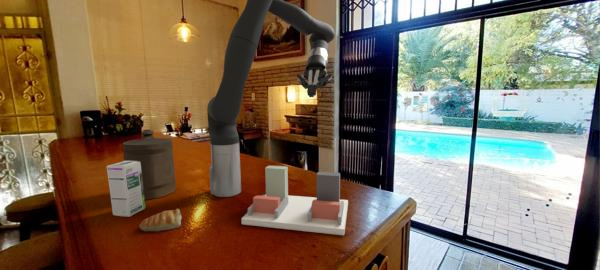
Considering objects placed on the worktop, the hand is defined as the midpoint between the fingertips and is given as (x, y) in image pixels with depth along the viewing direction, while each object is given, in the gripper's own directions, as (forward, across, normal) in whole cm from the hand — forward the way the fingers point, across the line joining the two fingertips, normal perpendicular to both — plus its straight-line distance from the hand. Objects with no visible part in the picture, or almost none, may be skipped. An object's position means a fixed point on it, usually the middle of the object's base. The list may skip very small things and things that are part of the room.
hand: (311, 95), depth 85 cm
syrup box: (+43, -48, +4) cm, 65 cm away
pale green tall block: (+32, -8, +12) cm, 35 cm away
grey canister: (+33, -54, +14) cm, 65 cm away
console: (+37, 0, +10) cm, 38 cm away
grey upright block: (+35, +8, +10) cm, 37 cm away
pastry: (+47, -32, +1) cm, 57 cm away
